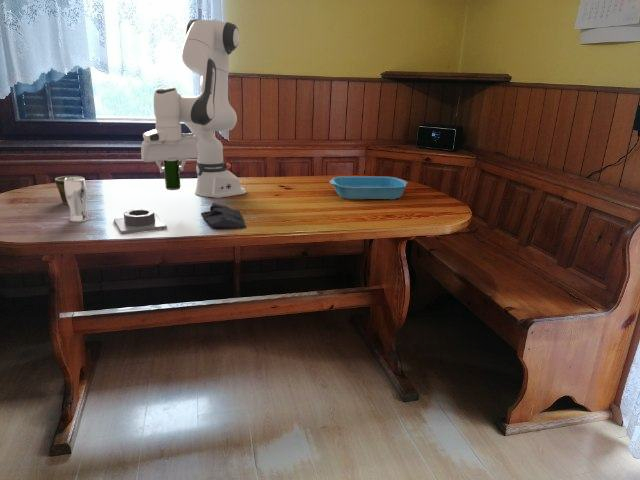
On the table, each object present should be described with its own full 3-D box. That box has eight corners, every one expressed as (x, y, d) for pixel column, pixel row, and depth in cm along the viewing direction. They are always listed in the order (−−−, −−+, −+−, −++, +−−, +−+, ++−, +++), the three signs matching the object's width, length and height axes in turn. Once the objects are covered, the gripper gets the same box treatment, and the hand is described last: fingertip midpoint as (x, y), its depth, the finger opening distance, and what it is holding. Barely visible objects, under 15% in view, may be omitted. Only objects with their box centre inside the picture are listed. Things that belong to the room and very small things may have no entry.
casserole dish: (333, 201, 215) (334, 186, 212) (325, 189, 235) (325, 175, 233) (412, 201, 220) (414, 186, 218) (398, 190, 241) (399, 175, 239)
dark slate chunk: (205, 232, 169) (204, 219, 168) (200, 214, 189) (200, 202, 188) (248, 229, 174) (248, 217, 172) (239, 212, 194) (239, 201, 192)
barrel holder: (156, 217, 181) (155, 205, 180) (167, 228, 169) (166, 216, 168) (114, 221, 174) (112, 209, 172) (121, 234, 162) (120, 221, 160)
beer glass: (73, 216, 178) (68, 176, 173) (93, 217, 178) (88, 176, 173) (65, 222, 171) (59, 180, 166) (86, 222, 172) (80, 181, 167)
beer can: (168, 191, 179) (165, 158, 174) (163, 187, 183) (161, 156, 178) (182, 189, 181) (180, 157, 177) (177, 186, 186) (175, 154, 181)
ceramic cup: (91, 201, 197) (88, 177, 194) (70, 207, 188) (66, 182, 185) (69, 197, 202) (65, 173, 199) (47, 202, 193) (43, 177, 190)
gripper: (194, 131, 182) (196, 167, 187) (138, 134, 173) (141, 172, 178) (199, 134, 177) (201, 171, 182) (141, 136, 168) (145, 176, 172)
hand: (171, 171), depth 180 cm, fingers closed on beer can, 5 cm apart
